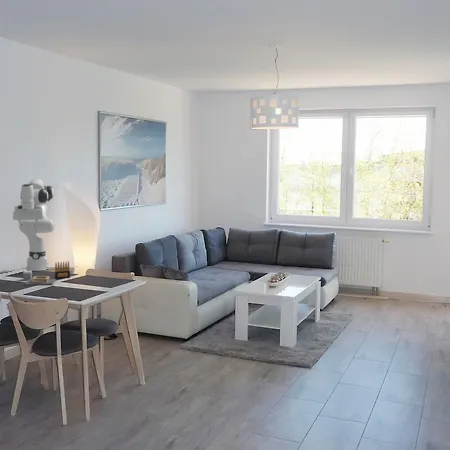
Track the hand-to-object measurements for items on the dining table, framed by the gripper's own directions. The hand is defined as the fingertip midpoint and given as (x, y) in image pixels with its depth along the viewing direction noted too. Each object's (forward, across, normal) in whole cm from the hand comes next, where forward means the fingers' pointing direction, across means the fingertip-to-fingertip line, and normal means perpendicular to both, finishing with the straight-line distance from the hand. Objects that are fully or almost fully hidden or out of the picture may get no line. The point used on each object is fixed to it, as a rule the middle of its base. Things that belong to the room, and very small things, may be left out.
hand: (28, 226), depth 419 cm
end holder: (+39, -4, +18) cm, 43 cm away
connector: (+37, +2, +5) cm, 38 cm away
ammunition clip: (+38, -21, +10) cm, 44 cm away
